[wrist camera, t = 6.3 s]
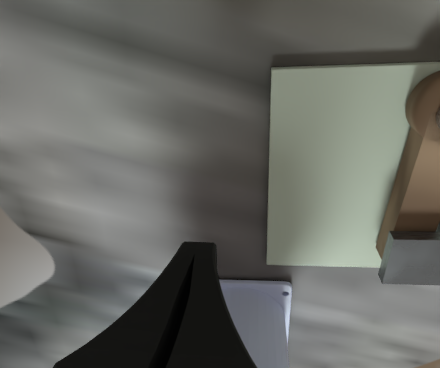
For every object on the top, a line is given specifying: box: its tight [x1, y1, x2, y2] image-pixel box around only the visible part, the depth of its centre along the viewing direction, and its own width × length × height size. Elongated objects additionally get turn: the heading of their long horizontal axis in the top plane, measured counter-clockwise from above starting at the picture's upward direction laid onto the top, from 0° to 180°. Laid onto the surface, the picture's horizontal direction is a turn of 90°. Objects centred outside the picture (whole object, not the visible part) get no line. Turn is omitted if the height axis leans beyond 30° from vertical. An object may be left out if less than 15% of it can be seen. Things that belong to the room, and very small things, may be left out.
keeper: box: [378, 222, 440, 285], centre depth 21 cm, size 4×6×3 cm, turn 93°
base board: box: [266, 62, 440, 268], centre depth 21 cm, size 14×13×1 cm
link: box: [376, 71, 440, 260], centre depth 19 cm, size 12×4×2 cm, turn 0°
